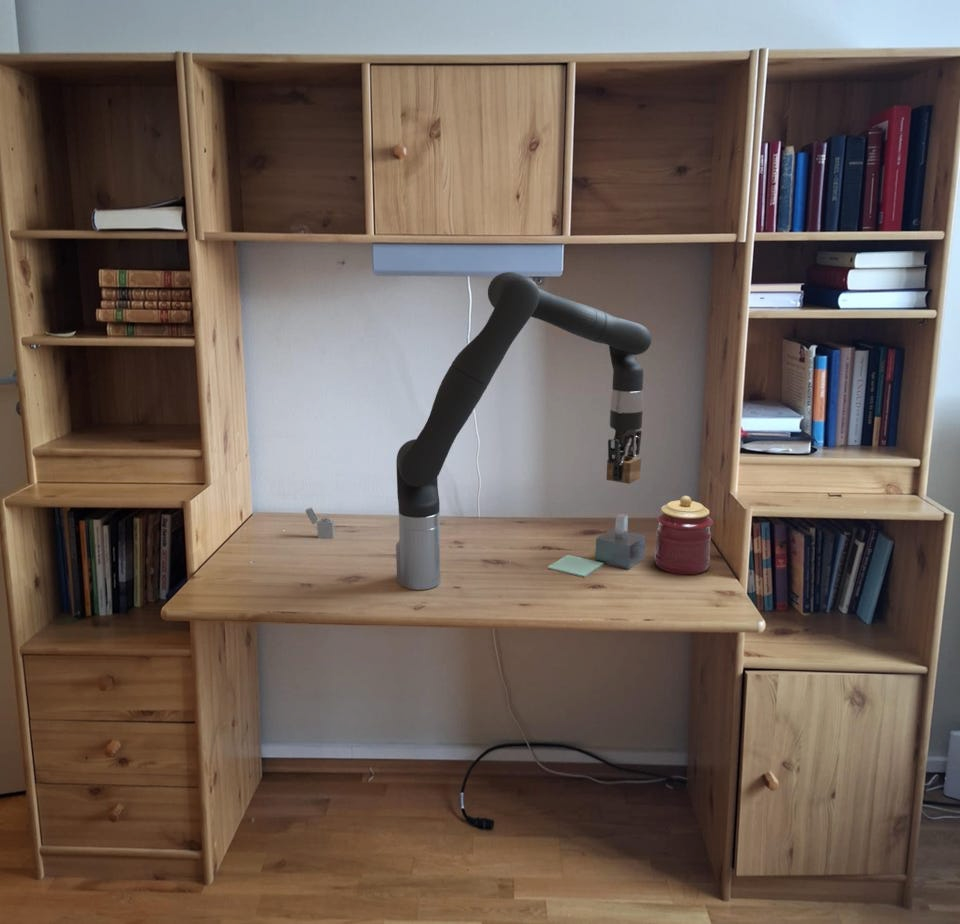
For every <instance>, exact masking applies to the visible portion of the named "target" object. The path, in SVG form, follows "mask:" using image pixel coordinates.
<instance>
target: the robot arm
mask: <svg viewBox="0 0 960 924" xmlns="http://www.w3.org/2000/svg"><path fill="white" fill-rule="evenodd" d="M487 287H488V288H487V298H488V300H489V302H490V304H491V307H493V310H492V312H491V314H490V316H489V318H488V319H487V321H486V323H485V326H484V327H483V328H482V329H481V331H480V332H479V333H478V334H477V335H476V336H475V337H474V338H473V339H472V340H471V341H470V342H469V343H468V344H467V345H466V346H465V347H464V348H463V349H462V350H461V351H460V352H458V354H457V356H456V357H455V358H454V359H453V361H452V362H451V365H450V366H449V368H448V370H447V371H446V373H445V375H444V377H443V379H442V381H441V382H440V384H439V386H438V389H437V392H436V394H435V396H434V397H435V398H434V401H433V403H432V407H431V411H430V413H429V416H428V418H427V421H426V422H425V424H424V426H423V428H422V429H421V431H420V433H419V434H418V436H417V437H416V438H415V439H411V440H408V441H405V442H404V443H403V444H402V445H401V446H400V448H399V449H398V452H397V455H396V461H395V462H396V463H395V465H396V467H395V468H396V485H397V486H396V489H397V492H396V493H397V495H396V496H397V503H398V529H399V530H398V535H399V537H398V539H399V540H398V541H397V542H396V543H395V556H396V557H395V558H396V562H395V563H396V565H395V566H396V583H398V584H400V585H401V586H402V587H404V588H406V589H409V590H417V591H418V590H419V591H420V590H421V591H422V590H429V589H430V590H431V589H433V588H436V587H438V586H439V585H440V584H441V537H440V536H441V528H440V519H441V518H440V511H441V509H440V507H441V506H440V496H439V486H438V476H439V475H440V473H441V471H442V468H443V466H444V463H445V462H446V459H447V457H448V454H449V453H450V450H451V448H452V446H453V444H454V443H455V440H456V438H457V436H458V435H459V433H460V431H461V430H462V429H463V427H464V425H465V424H466V423H467V422H468V420H469V418H470V416H471V415H472V413H473V411H474V410H475V408H476V406H477V405H478V404H479V403H480V400H481V398H482V397H483V394H484V393H485V392H486V390H487V388H488V386H489V384H490V382H491V381H492V379H493V378H494V375H495V373H496V371H497V370H498V368H499V367H500V365H501V363H502V361H503V360H504V357H505V356H506V354H507V352H508V350H509V349H510V347H511V345H512V344H513V342H514V341H515V339H516V338H517V336H518V335H519V334H520V332H521V331H522V330H523V328H524V327H525V325H526V324H527V322H528V321H529V320H530V319H531V318H535V319H537V320H540V321H543V322H546V323H548V324H551V325H553V326H555V327H557V328H559V329H560V330H564V331H566V332H567V333H570V334H572V335H574V336H578V337H580V338H583V339H586V340H589V341H592V342H593V343H598V344H603V345H604V344H605V345H607V346H609V347H608V348H609V356H610V362H611V366H612V371H613V372H612V389H611V391H612V392H611V396H610V407H609V408H610V409H609V410H610V411H609V414H610V415H609V427H610V428H611V429H613V430H615V432H614V438H613V439H611V438H609V439H608V440H607V454H608V455H607V460H608V462H609V463H611V464H613V479H614V480H618V481H620V480H622V474H623V462H624V457H626V456H631V457H637V456H639V454H640V450H641V441H642V430H640V429H642V426H643V411H644V410H643V409H644V392H643V388H644V386H643V385H644V369H643V367H642V365H640V364H639V363H638V361H637V356H638V355H642V354H643V353H645V352H647V351H648V349H649V348H650V347H651V345H652V336H651V333H650V331H649V329H648V328H647V327H645V325H643V324H641V323H637V322H635V321H631V320H628V319H624V318H620V317H617V316H614V315H612V314H610V313H608V312H605V311H602V310H600V309H597V308H596V307H593V306H590V305H587V304H585V303H580V302H577V301H574V300H570V299H568V298H565V297H561V296H558V295H555V294H553V293H550V292H548V291H546V290H543V289H541V288H539V286H538V284H537V283H536V282H535V281H534V280H533V279H531V278H530V277H527V276H525V275H522V274H520V273H518V272H513V271H511V272H510V271H508V272H505V271H504V272H502V273H499V274H497V275H496V276H495V277H493V279H491V281H490V282H489V285H488V286H487ZM620 456H621V457H620ZM612 457H613V458H612Z"/></svg>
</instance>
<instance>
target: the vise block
mask: <svg viewBox="0 0 960 924" xmlns="http://www.w3.org/2000/svg"><path fill="white" fill-rule="evenodd" d="M628 524H629V515H628V514H625V513H624V514H623V513H618V514H616V515H615V528H611V529H609V530H608V531H606V532H604V533H603V534H601V535H600V536H598V537H596V538H595V560H594V561H597V562H602V563H604V565H609V566H612V567H617V568H621V569H626V570H630V569H632V568H633V567H635V566H636V565H637V564H639V563H640V562H642V561H643V560H644V559H645V552H646V551H645V550H646V535H645V534H642V533H637V532H636V533H635V532H631V531H628Z"/></svg>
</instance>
